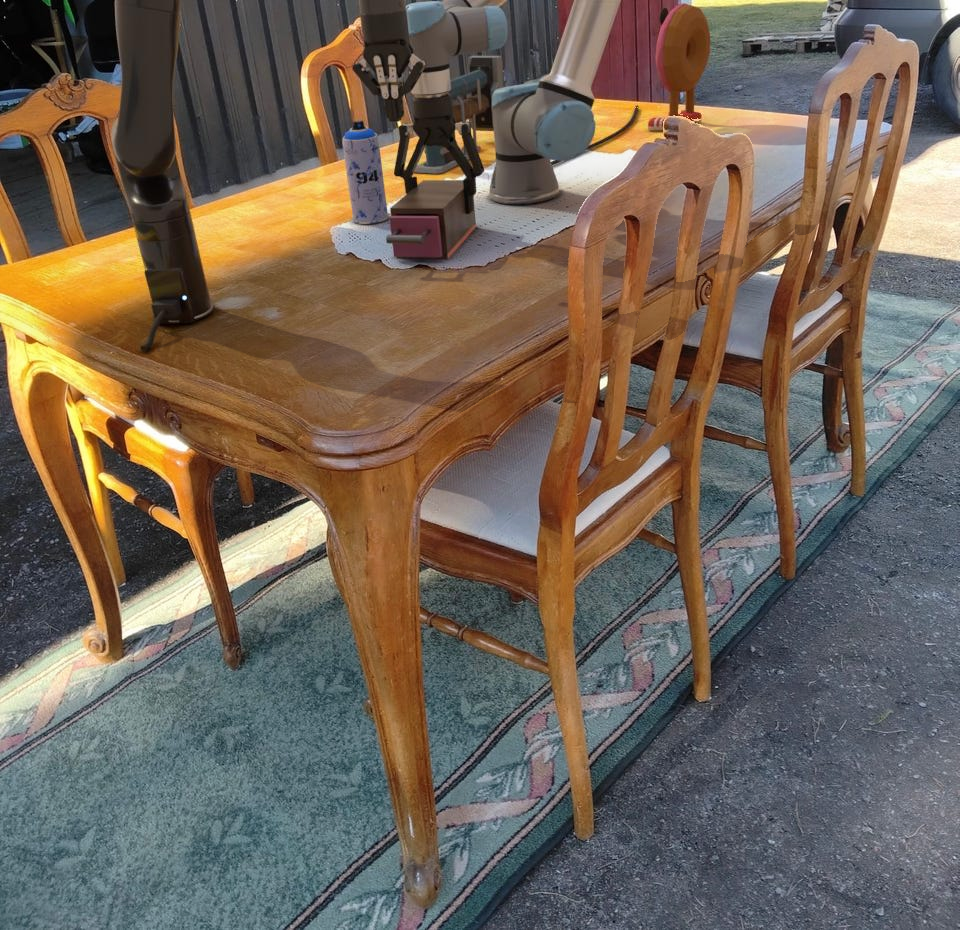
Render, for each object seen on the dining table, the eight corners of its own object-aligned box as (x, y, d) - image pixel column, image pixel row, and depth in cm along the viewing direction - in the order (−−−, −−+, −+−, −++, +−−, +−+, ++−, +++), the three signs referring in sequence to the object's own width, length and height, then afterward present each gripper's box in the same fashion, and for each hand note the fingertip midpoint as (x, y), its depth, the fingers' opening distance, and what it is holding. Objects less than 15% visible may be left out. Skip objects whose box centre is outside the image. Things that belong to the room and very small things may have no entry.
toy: (679, 116, 271) (683, -2, 256) (712, 118, 265) (718, -3, 250) (639, 132, 257) (640, 8, 242) (673, 135, 251) (676, 8, 236)
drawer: (430, 268, 173) (426, 227, 170) (383, 267, 176) (377, 227, 172) (467, 227, 193) (464, 190, 189) (424, 227, 195) (420, 190, 191)
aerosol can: (355, 226, 202) (341, 127, 192) (349, 216, 209) (336, 120, 199) (392, 220, 204) (380, 122, 194) (385, 211, 210) (373, 115, 200)
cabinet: (448, 258, 180) (443, 208, 175) (396, 257, 183) (389, 208, 178) (476, 227, 196) (472, 180, 191) (427, 226, 199) (422, 180, 194)
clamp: (440, 173, 235) (432, 80, 224) (410, 172, 239) (400, 80, 228) (506, 140, 261) (501, 55, 250) (478, 139, 264) (472, 55, 254)
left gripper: (429, 4, 157) (439, 115, 165) (353, 8, 160) (367, 117, 169) (414, 9, 151) (425, 125, 159) (336, 14, 154) (351, 126, 163)
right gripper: (495, 88, 180) (503, 206, 191) (381, 91, 186) (394, 206, 197) (485, 96, 174) (493, 217, 185) (367, 99, 180) (382, 216, 191)
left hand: (395, 120), depth 164 cm, fingers closed
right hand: (442, 211), depth 191 cm, fingers closed on cabinet, 10 cm apart
